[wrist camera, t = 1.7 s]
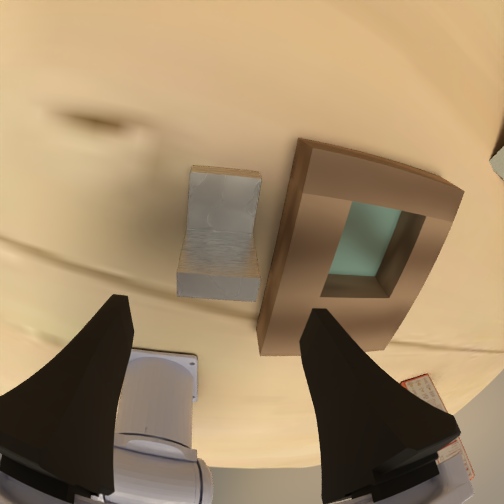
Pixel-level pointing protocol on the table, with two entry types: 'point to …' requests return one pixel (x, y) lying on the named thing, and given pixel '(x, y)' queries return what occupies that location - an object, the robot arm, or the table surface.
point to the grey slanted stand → (498, 162)
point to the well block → (352, 245)
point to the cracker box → (429, 394)
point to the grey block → (220, 236)
